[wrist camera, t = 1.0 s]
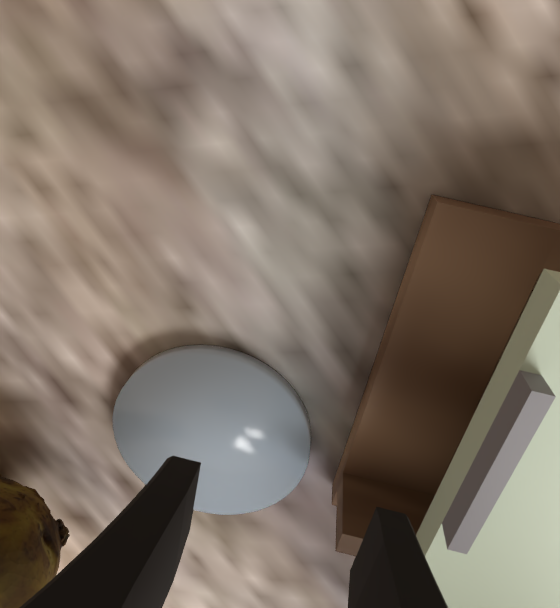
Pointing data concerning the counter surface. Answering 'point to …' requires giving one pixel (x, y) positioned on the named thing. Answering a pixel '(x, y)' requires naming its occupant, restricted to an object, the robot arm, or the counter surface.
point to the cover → (506, 477)
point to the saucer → (215, 426)
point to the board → (437, 357)
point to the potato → (26, 543)
